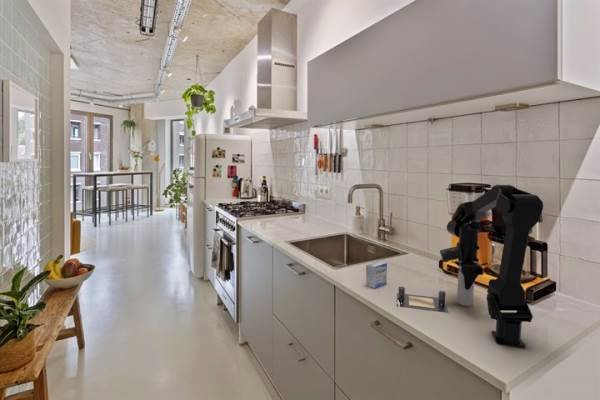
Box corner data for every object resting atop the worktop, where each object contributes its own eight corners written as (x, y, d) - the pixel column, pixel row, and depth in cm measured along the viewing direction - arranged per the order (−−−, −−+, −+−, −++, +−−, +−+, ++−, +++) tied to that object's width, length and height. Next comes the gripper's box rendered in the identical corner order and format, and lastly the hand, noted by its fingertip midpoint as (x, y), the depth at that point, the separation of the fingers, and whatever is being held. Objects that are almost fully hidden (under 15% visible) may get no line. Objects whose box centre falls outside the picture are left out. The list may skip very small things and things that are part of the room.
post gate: (448, 314, 105) (449, 299, 104) (396, 308, 110) (396, 293, 109) (444, 300, 116) (444, 286, 116) (397, 294, 121) (397, 281, 121)
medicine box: (374, 289, 125) (375, 266, 124) (365, 285, 128) (365, 264, 127) (386, 284, 130) (387, 262, 129) (377, 281, 133) (378, 260, 132)
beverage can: (464, 307, 109) (466, 272, 107) (453, 301, 113) (455, 267, 112) (476, 306, 110) (478, 271, 109) (465, 300, 115) (467, 266, 113)
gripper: (439, 234, 120) (437, 275, 122) (445, 245, 103) (442, 294, 104) (473, 236, 117) (470, 278, 119) (485, 248, 99) (482, 298, 101)
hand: (465, 286), depth 111 cm, fingers closed on beverage can, 5 cm apart
